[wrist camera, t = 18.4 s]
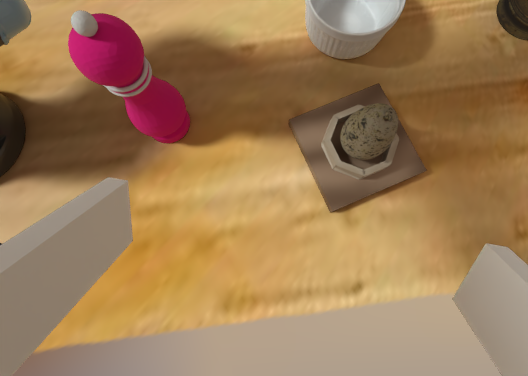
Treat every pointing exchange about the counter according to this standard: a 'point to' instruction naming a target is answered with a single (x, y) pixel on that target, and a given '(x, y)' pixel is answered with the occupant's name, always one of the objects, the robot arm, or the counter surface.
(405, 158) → the egg stand
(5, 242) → the robot arm
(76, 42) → the pepper mill
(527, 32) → the container
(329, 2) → the ramekin
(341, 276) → the counter surface
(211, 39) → the counter surface
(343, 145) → the decorative egg
